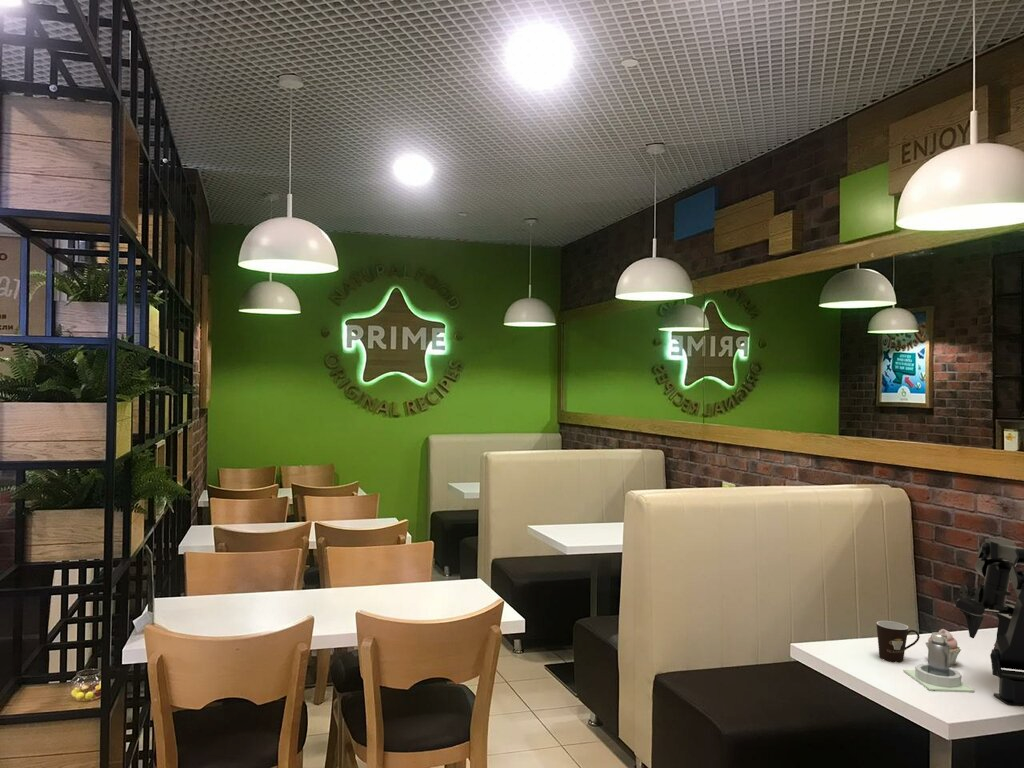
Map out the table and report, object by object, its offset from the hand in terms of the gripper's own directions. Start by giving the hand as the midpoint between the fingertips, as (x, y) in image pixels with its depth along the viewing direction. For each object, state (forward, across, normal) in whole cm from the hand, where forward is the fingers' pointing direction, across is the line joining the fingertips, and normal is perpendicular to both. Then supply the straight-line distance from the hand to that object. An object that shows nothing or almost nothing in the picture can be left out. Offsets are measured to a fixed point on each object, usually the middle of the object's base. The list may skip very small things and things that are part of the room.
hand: (985, 639), depth 215 cm
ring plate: (+14, +12, -1) cm, 18 cm away
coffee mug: (+15, +11, -18) cm, 26 cm away
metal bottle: (+13, +12, -1) cm, 18 cm away
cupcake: (+13, -2, -14) cm, 19 cm away
